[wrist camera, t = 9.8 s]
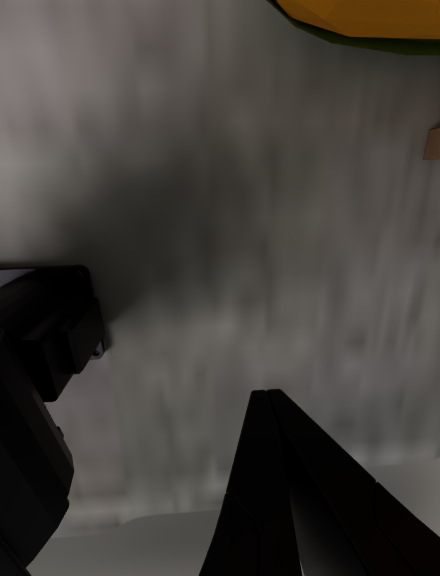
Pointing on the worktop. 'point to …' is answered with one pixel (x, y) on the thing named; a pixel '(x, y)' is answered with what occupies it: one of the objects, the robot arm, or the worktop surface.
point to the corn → (369, 23)
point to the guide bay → (433, 145)
